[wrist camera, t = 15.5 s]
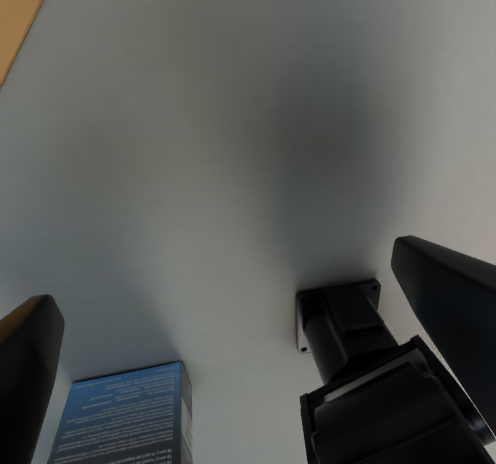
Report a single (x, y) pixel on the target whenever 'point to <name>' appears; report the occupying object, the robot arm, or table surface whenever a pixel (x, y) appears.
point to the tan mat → (14, 29)
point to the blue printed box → (127, 419)
